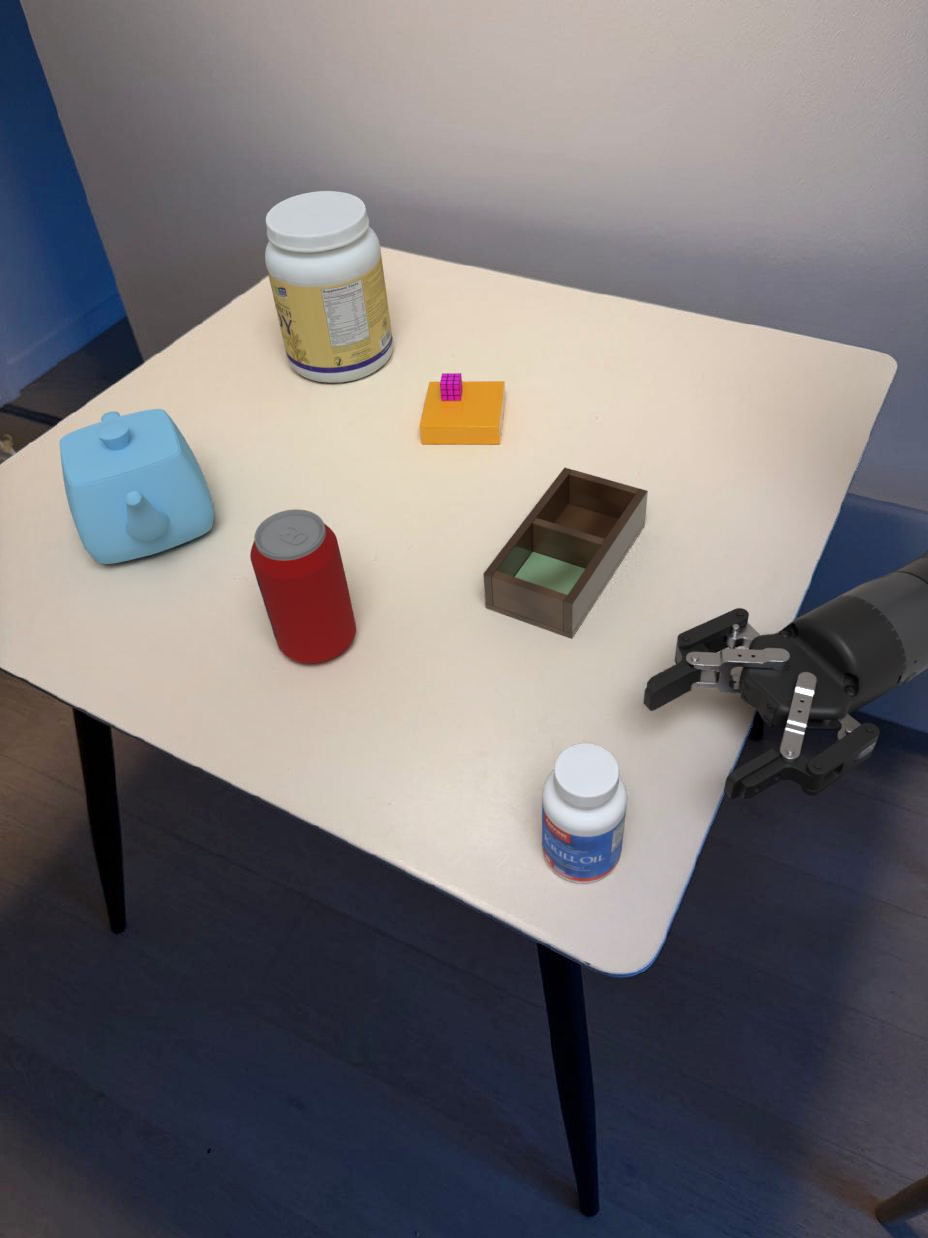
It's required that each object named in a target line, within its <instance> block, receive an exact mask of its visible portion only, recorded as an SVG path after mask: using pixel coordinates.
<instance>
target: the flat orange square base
mask: <svg viewBox="0 0 928 1238" xmlns="http://www.w3.org/2000/svg"><path fill="white" fill-rule="evenodd" d="M506 399H507V398H506V382H505V380H496V381H495V380H491V381H489V380H488V381H487V380H484V381H483V380H481V381H480V380H477V381H474V380H473V381H471V380H470V381H469V380H468V381H467V380H466V381H463V378H462V373H460V372H458V373H457V372H454V373H453V372H451V373H449V372H447V373H446V372H445V373H441V377H440V381H429V382H428V387H427V390H426V396H425V400H424V405H423V410H422V414H421V418H420V423H419V432H420V440H421V444H422V445H500V444H501V439H502V431H503V422H504V415H505V414H504V413H505V406H506Z"/></svg>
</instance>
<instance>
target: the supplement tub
mask: <svg viewBox="0 0 928 1238" xmlns="http://www.w3.org/2000/svg"><path fill="white" fill-rule="evenodd" d="M265 226H266V237H267V239H268V242H267V244H266V247H265V252H264V260H265V267H266V270H267V275H268V279H269V282H270V283H269V284H270V287H271V293H272V297H273V302H274V306H275V311H276V314H277V319H278V324H279V328H280V333H281V338H282V342H283V346H284V350H285V355H286V356H285V357H286V359H287V361H288V363H289V365H290V366H291V368H292V369H293V370H294V371H295V372H296V373H297V374H299V375H300V376H302V377H303V378H305V379H307V380H310V381H314V382H319V383H328V384H329V383H330V384H331V383H333V384H334V383H336V384H337V383H346V382H347V383H348V382H352V381H356V380H360V379H363V378H365V377H368V376H369V375H371V374H374V373H375V372H377V371H378V370H379V369H381V368H382V367H383V366H384V365H385V364H386V363H387V362H388V361H389V359H390V358H391V355H392V353H393V349H394V337H393V332H392V325H391V317H390V316H391V315H390V310H389V303H388V294H387V288H386V280H385V272H384V271H385V270H384V265H383V258H382V257H383V256H382V247H381V244H380V239H379V238H378V235H377V234H376V232H375V231H374V229H373V228H372V227H371V226H370V219H369V216H368V213H367V208H366V205H365V203H364V201H363V200H362V199H361V198H359V197H357V196H356V195H354V194H351V193H348V192H344V191H335V190H320V191H310V192H305V193H300V194H296V195H294V196H291V197H288V198H286V199H284V200H282V201H280V202H278V203H277V204H275V205H274V206H273V207H271V209H270V210H268V212H267V213H266V216H265Z"/></svg>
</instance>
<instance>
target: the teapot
mask: <svg viewBox="0 0 928 1238" xmlns="http://www.w3.org/2000/svg"><path fill="white" fill-rule="evenodd" d="M100 420H101V421H99V422H96V423H93V424H90V425H87V426H84V427H81V428H78V429H76V430H73V431H71V432H69V433H66V434H65V435H63V436H62V437H61V438H60V440H59V453H60V462H61V471H62V478H63V485H64V491H65V495H66V500H67V504H68V507H69V511H70V514H71V517H72V518H71V519H72V520H73V523H74V526H75V529H76V531H77V535H79V536H78V537H79V539H80V541H81V544H82V547H83V548H84V550H85V551H86V552H87V554H88V555H90V557H91V558H92V559H94V560H95V561H96V562H97V563H99V564H102V565H111V564H117V563H123V562H130V561H132V560H136V559H140V558H144V557H147V556H148V557H149V556H151V555H155V554H159V553H162V552H165V551H167V550H170V549H173V548H175V547H178V546H180V545H182V544H186V543H189V542H191V541H193V540H194V539H197V538H199V537H201V536H203V535H205V534H206V533H209V531H211V530H212V528H213V525H214V517H215V509H214V503H213V500H212V495H211V492H210V489H209V486H208V483H207V480H206V477H205V475H204V473H203V471H202V469H201V466H200V464H199V462H198V460H197V458H196V456H195V454H194V453H193V450H192V449H191V447H190V445H189V443H188V441H187V440H186V438H185V436H184V435H183V433H182V432H181V430H180V428H179V427H178V425H177V424H176V423H175V421H174V420H173V418H171V416H170V415H169V414H168V413H167V411H166V410H165V409H163V408H162V409H161V408H152V409H151V408H150V409H146V410H141V411H135V412H132V413H128V414H124V415H121V414H120V412H118V411H114V410H113V411H108V412H106V413H104V414H103V415H102V416H101V417H100Z"/></svg>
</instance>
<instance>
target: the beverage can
mask: <svg viewBox="0 0 928 1238" xmlns="http://www.w3.org/2000/svg"><path fill="white" fill-rule="evenodd" d="M253 538H254V540H253V543H252V545H251V548H250V555H249V557H250V562H251V566H252V569H253V573H254V575H255V580H256V582H257V586H258V589H259V593H260V595H261V598H262V602H263V605H264V608H265V612H266V615H267V618H268V621H269V624H270V627H271V630H272V633H273V636H274V639H275V642H276V645H277V647H278V649H279V651H280V652H281V653H282V654H283V655H284V656H285V657H286V658H288V659H290V660H292V661H295V662H297V663H302V664H303V663H304V664H317V663H322V662H326V661H330V660H331V659H332V660H333V659H334V658H337V656H339V655H341V654H342V653H343V652H344V651H346V650H347V649H348V648H349V647H350V645H352V643H353V641H354V639H355V636H356V632H357V625H356V624H357V623H356V619H355V615H354V614H355V613H354V609H353V603H352V600H351V594H350V590H349V586H348V581H347V577H346V572H345V568H344V563H343V559H342V555H341V551H340V546H339V541H338V539H337V536H336V533H335V532H334V531H333V529H332V528H331V527H330V526H328V525H327V524H326V523H325V522H324V521H323V519H322V518H321V516H319V515H318V514H317V513H314V512H313V511H310V510H306V509H297V508H295V509H286V510H282V511H279V512H276V513H274V514H272V515H270V516H268V517H267V518H265V519H264V520H263V521H262V522H261V523H260V524H259V525H258V527H256V529H255V532H254V537H253Z"/></svg>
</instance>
